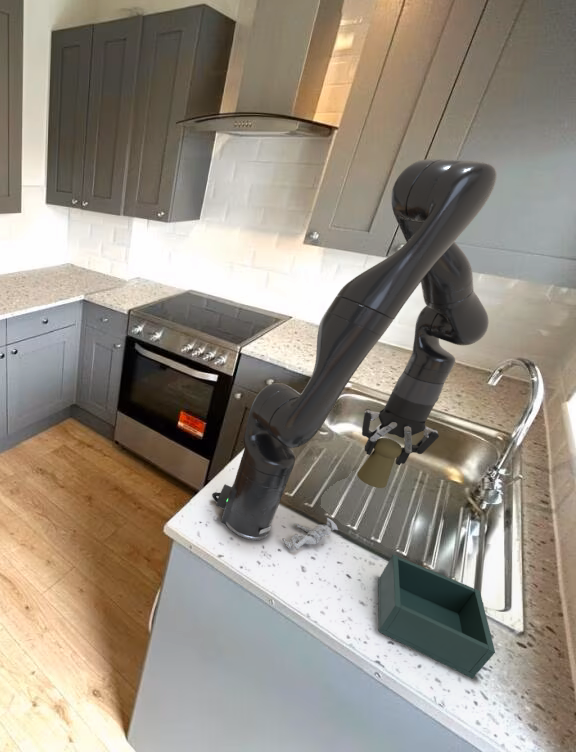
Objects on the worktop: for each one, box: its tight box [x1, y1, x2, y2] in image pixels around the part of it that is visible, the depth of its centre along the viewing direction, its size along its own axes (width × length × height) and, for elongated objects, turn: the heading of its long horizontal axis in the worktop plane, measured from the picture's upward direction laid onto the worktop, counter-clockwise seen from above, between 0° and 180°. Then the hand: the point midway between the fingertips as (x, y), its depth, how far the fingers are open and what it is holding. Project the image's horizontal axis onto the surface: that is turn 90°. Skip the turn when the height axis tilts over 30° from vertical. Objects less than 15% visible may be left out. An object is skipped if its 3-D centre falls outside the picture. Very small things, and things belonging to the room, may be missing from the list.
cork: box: [356, 437, 403, 489], centre depth 99 cm, size 6×6×11 cm
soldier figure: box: [282, 517, 339, 551], centre depth 89 cm, size 8×5×12 cm
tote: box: [377, 554, 496, 679], centre depth 73 cm, size 13×13×7 cm
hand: (382, 457), depth 99 cm, fingers closed on cork, 5 cm apart
